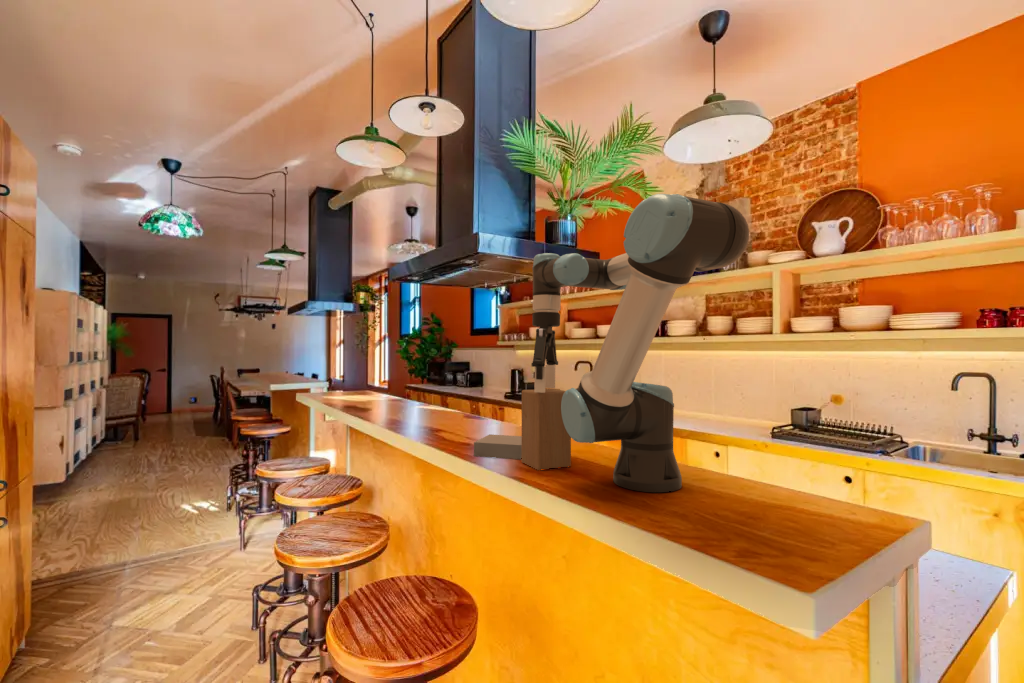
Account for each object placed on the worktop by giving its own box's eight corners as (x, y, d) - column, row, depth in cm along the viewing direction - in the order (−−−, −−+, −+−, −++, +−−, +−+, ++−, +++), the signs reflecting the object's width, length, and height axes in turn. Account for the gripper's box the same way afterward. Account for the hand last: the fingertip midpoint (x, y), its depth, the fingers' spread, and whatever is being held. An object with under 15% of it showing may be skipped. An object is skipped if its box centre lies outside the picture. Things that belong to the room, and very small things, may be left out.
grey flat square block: (520, 459, 131) (520, 445, 131) (473, 456, 135) (474, 442, 135) (532, 449, 145) (532, 436, 145) (489, 447, 148) (489, 434, 149)
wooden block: (520, 463, 128) (520, 389, 128) (552, 459, 132) (552, 388, 132) (538, 471, 119) (538, 392, 119) (571, 467, 123) (571, 391, 123)
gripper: (542, 315, 139) (541, 385, 139) (521, 308, 115) (520, 393, 115) (567, 315, 137) (566, 386, 137) (551, 308, 113) (550, 395, 113)
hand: (545, 390), depth 126 cm, fingers open, 13 cm apart
